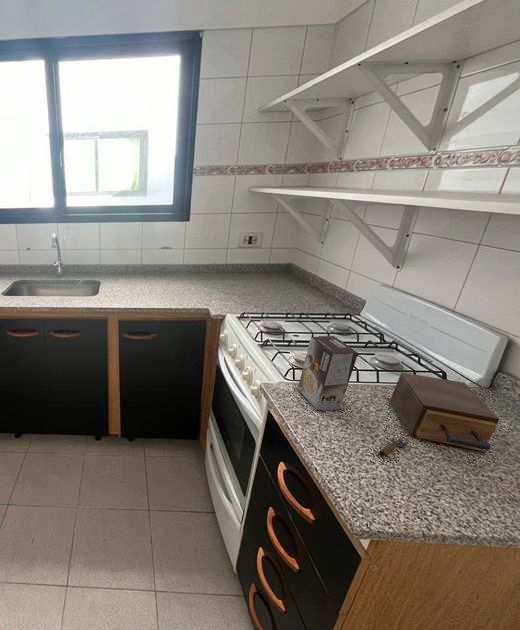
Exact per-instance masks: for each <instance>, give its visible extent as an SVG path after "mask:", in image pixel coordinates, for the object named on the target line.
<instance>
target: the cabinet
mask: <svg viewBox="0 0 520 630" xmlns="http://www.w3.org/2000/svg"><path fill="white" fill-rule="evenodd" d="M389 401H390V403H391V405H392V406H393V408H394V410H395V412H396V413H397V415H398V417H399V419H400V421H401V422H402V425H403V426H404V428H405V429H406V431H407V433H408V435H409V436H410V437H412V438H419V437H417V436H416V434H415V433H416V431H417V429H418V427H419V424H420V422H421V420H422V418H423V416H424V414H425V411H426V409H432V410H437V411H442V412H448V413H453V414H458V415H464V416H469V417H474V418H480V419H484V420H486V421H491V422H494V423H495V424H496V425H497V424H498V423H499V421H500V418H499V416H497V415H496V414H495V412H493V411H492V410H491V409H490V407H488V405H486V403H485V402H484V401H483V400H482V399H481V398H480V397H479V396H478V395H477V394H476V393H475V392H474V391H473V390H472V388H470V386H469V385H468V384H467V383H466V382H463V381H457V380H451V379H446V378H439V377H432V376H426V375H420V374H414V373H409V372H400V374H399V377H398V380H397V382H396V385H395V387H394V389H393V392H392V395H391V397H390V398H389ZM419 439H420V438H419ZM421 439H422V440H424V439H423V438H421ZM426 440H427V441H429V440H428V439H426ZM431 441H432V442H434V441H433V440H431ZM435 442H437V441H435ZM437 443H438V442H437ZM441 443H442V442H440V444H441ZM442 444H443V443H442ZM446 444H447V443H445V445H446ZM447 445H448V444H447ZM449 445H450V446H453V445H452V444H449ZM454 446H456V445H454ZM456 447H457V446H456ZM459 447H460V448H462V447H461V446H459ZM463 448H465V449H467V448H466V447H463ZM468 449H469V450H471V449H470V448H468ZM473 450H475V449H473ZM475 451H476V450H475ZM477 451H478V452H481V451H480V450H477Z"/></svg>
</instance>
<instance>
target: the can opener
mask: <svg viewBox="0 0 520 630" xmlns="http://www.w3.org/2000/svg"><path fill="white" fill-rule="evenodd" d="M395 440H396V438H391V443H390V444H388V445H387V446H385V447H383V448H381V450H379V452H378V454H379V455H380V456H382V457H385V456H386V455H388V454H390V453H391V452H392V451H393V450H395V449H396V448H397V447H399V448H406V447H407V446H408V441H407V440H406V441H404V439H403V438H402V437H400V438H399V439H398V440H396V441H395Z"/></svg>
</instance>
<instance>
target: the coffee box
mask: <svg viewBox="0 0 520 630" xmlns="http://www.w3.org/2000/svg"><path fill="white" fill-rule="evenodd" d="M358 355H359V351H357V350H356V349H354V348H352V347H350V346H349V345H348V344H346V343H345V342H343V341H342V340H341V339H339V338H337V337H336V336H334V335H319V336H310V338H309V342H308V347H307V350H306V354H305V358H304V363H303V367H302V369H301V375H300V379H299V382H298V385H297V391H299V392H300V393H301V394H302V395H303V397H304V398H305V399H306V400H307V401H308V402H309V403H310V404H311V406H313V407H314V408H315V409H316V410H317V411H322V410H323V411H324V410H325V411H326V410H329V411H330V410H340V409H341V408H342V405H343V401H344V399H345V395H346V393H347V389H348V387H349V383H350V380H351V377H352V374H353V370H354V368H355V365H356V361H357V358H358Z"/></svg>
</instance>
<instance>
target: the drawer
mask: <svg viewBox="0 0 520 630" xmlns="http://www.w3.org/2000/svg"><path fill="white" fill-rule="evenodd" d="M497 427H498V425H497V424H495V423H494V422H491V421H486V420H484V419H480V418H474V417H469V416H466V417H465V416H459V415H454V414H449V413H444V412H438V411H433V410H431V409H426V411H425V414H424V416H423V418H422V420H421V422H420V424H419V427H418V429H417V431H416V433H415V434H416V436H417V437H419V439H422V438H423V439H422V440H427V439H428V440H427V441H432V440H433V441H432V442H436V441H437V443H441V442H442V444H446V443H447V445H450V444H452V445H451V446H455V445H456V447H460V446H461V447H460V448H464V447H466V448H465V449H469V448H470V449H469V450H474V449H475V451H478V450H480V451H479V452H484V451H489V450H490V449H491V444H490V443H489V440H490V439H491V437H492V435H493V434H494V432H495V430H496V429H497ZM417 437H416V438H417Z"/></svg>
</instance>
